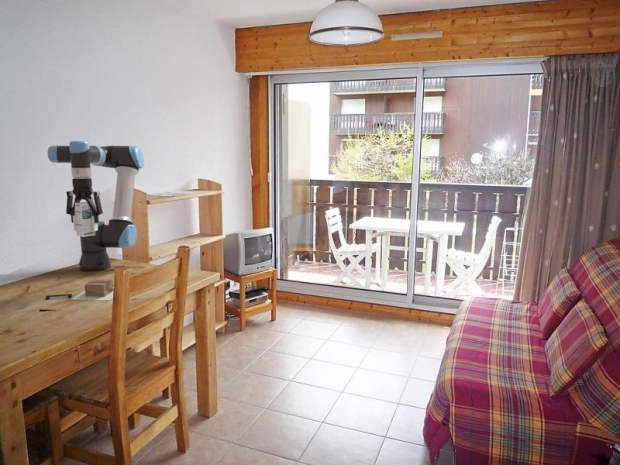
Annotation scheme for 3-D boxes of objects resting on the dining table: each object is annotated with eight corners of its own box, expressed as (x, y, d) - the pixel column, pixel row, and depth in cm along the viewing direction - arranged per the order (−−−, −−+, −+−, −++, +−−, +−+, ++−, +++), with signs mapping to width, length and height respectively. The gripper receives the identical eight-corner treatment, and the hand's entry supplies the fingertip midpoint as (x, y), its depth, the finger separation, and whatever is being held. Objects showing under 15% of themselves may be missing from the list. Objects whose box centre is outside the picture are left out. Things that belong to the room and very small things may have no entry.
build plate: (91, 290, 208) (90, 287, 208) (127, 291, 207) (126, 288, 207) (70, 302, 193) (70, 299, 192) (109, 303, 192) (109, 300, 191)
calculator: (39, 312, 183) (38, 304, 182) (47, 302, 194) (46, 295, 193) (66, 310, 185) (65, 302, 185) (72, 300, 196) (71, 293, 196)
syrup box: (83, 237, 205) (80, 203, 202) (76, 235, 208) (73, 202, 206) (96, 235, 209) (93, 202, 207) (89, 233, 213) (86, 201, 210)
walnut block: (95, 290, 204) (94, 278, 203) (113, 290, 203) (112, 279, 202) (85, 296, 196) (84, 284, 195) (104, 296, 196) (103, 284, 195)
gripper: (53, 178, 201) (58, 231, 205) (100, 178, 200) (104, 232, 204) (63, 177, 209) (68, 228, 213) (109, 177, 207) (113, 229, 211)
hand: (85, 230), depth 208 cm, fingers closed on syrup box, 8 cm apart
